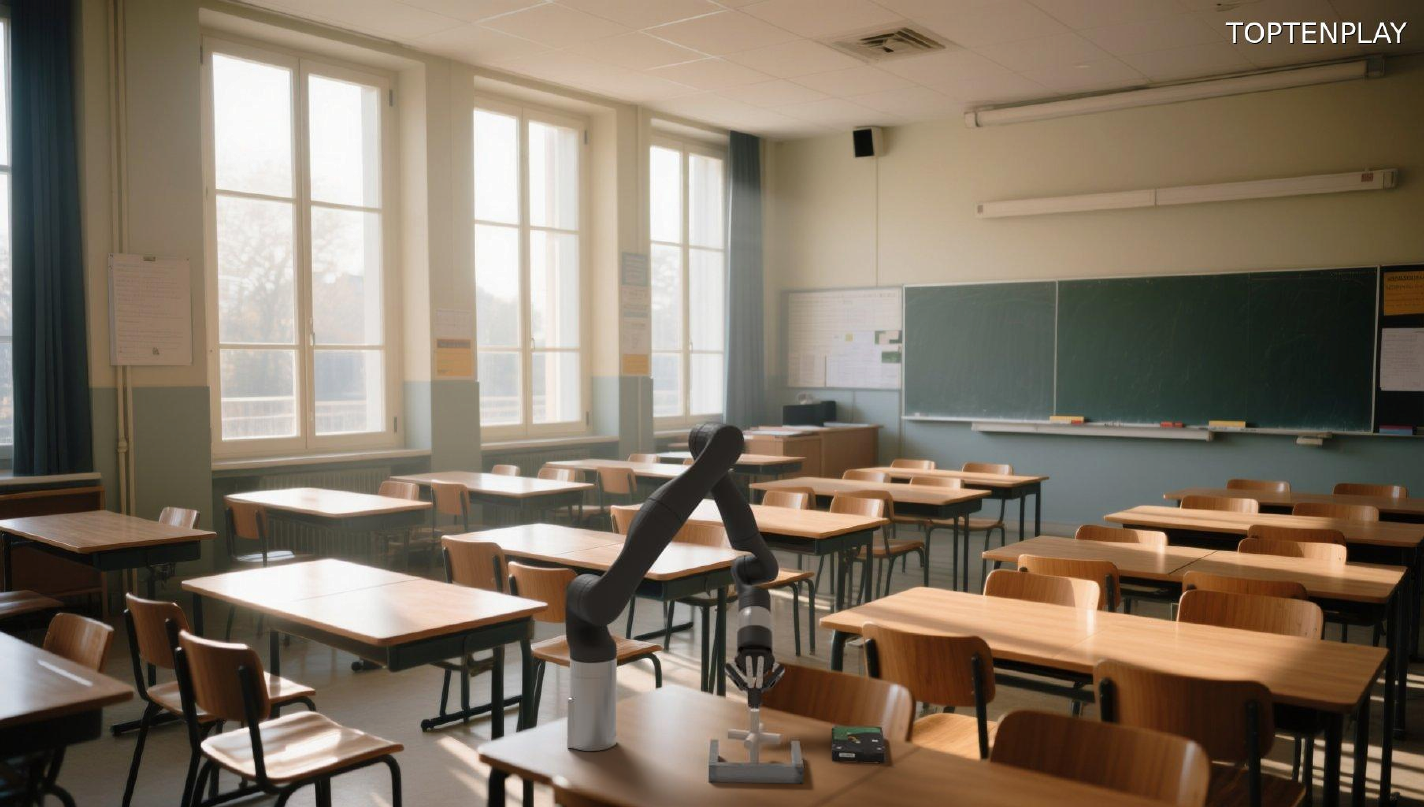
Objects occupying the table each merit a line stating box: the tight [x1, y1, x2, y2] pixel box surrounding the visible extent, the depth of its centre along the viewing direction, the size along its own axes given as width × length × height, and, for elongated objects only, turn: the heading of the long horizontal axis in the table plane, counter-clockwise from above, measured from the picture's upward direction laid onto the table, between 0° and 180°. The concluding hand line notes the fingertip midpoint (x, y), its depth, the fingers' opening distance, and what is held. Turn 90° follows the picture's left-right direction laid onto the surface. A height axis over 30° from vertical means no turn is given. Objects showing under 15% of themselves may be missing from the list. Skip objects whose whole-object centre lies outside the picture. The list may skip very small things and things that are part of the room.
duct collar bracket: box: [707, 739, 805, 784], centre depth 188 cm, size 17×14×3 cm
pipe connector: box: [727, 708, 782, 763], centre depth 191 cm, size 10×10×10 cm
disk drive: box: [831, 724, 887, 764], centre depth 199 cm, size 10×3×15 cm
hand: (754, 708), depth 203 cm, fingers closed
